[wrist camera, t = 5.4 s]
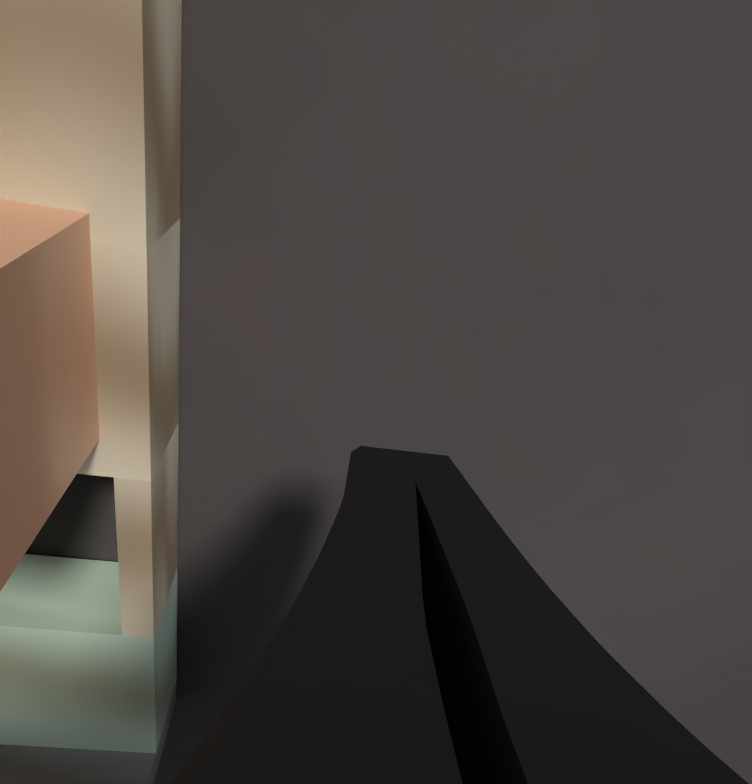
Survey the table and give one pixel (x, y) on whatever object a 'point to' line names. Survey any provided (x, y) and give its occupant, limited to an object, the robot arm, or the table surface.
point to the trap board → (102, 385)
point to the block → (43, 367)
